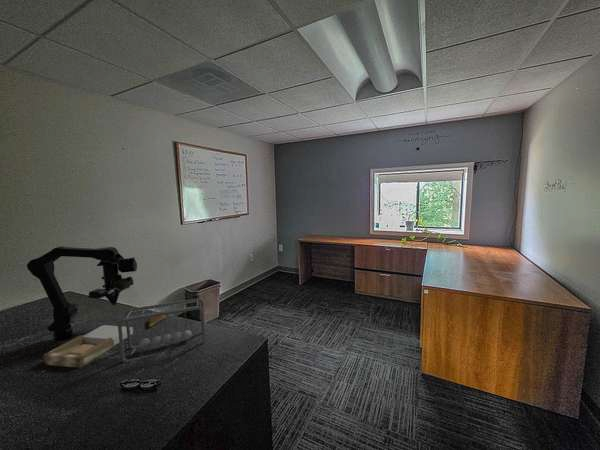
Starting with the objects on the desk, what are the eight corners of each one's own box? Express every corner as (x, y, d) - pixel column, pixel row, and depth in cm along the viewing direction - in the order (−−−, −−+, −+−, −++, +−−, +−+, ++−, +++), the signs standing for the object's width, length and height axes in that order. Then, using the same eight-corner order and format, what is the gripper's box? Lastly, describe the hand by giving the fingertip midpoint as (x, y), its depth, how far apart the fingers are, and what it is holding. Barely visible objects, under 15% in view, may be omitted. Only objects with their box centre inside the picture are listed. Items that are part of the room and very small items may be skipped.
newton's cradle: (121, 365, 92) (116, 320, 90) (129, 349, 102) (125, 309, 100) (205, 346, 103) (203, 306, 101) (205, 333, 113) (203, 297, 111)
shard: (149, 328, 118) (149, 324, 118) (136, 326, 120) (136, 322, 120) (167, 318, 128) (166, 314, 128) (155, 316, 130) (155, 313, 130)
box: (44, 364, 93) (43, 354, 93) (81, 343, 106) (80, 335, 106) (80, 368, 91) (79, 358, 90) (113, 346, 104) (112, 337, 104)
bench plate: (82, 343, 107) (81, 336, 107) (103, 331, 117) (103, 325, 116) (114, 345, 104) (113, 339, 104) (133, 333, 114) (132, 327, 114)
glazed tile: (83, 344, 102) (84, 349, 103) (70, 352, 97) (70, 358, 97) (95, 344, 102) (95, 350, 102) (82, 353, 96) (82, 359, 97)
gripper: (107, 280, 106) (111, 314, 107) (141, 268, 124) (144, 297, 126) (85, 279, 107) (89, 313, 109) (122, 268, 126) (125, 296, 127)
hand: (114, 304), depth 118 cm, fingers closed
